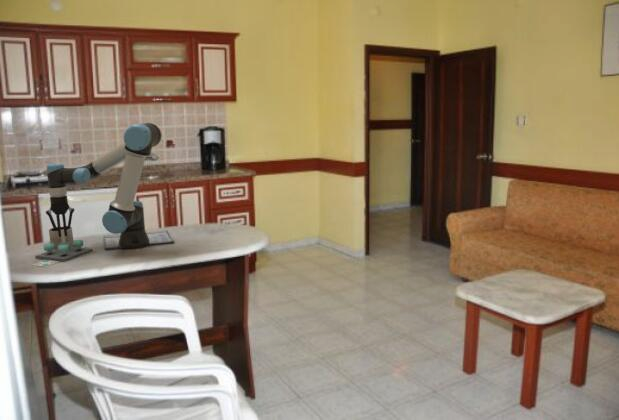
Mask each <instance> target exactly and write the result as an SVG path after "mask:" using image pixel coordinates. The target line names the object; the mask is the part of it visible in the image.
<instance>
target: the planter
mask: <svg viewBox="0 0 619 420" xmlns="http://www.w3.org/2000/svg"><path fill="white" fill-rule="evenodd" d="M62 229H64V227H63V226H61V230H62ZM48 234H49V235H48V236H49V243H54V247H55V249H57V248H58V246H59V243H62V238H61V237H59V234H58V230H54V228H53V227H52V228H49V229H48ZM65 241H66V242H69V245H70V247H73V241H74V234H73V228H72V226H70V228H69V229H67V236H65Z"/></svg>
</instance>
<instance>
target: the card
mask: <svg viewBox="0 0 619 420" xmlns="http://www.w3.org/2000/svg"><path fill="white" fill-rule="evenodd" d="M56 264H60V262H59V261H51V260H42V261H39V262H36V263H33V264H31V267H37V268H38V267H39V268H47V267H50V266H52V265H56Z"/></svg>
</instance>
